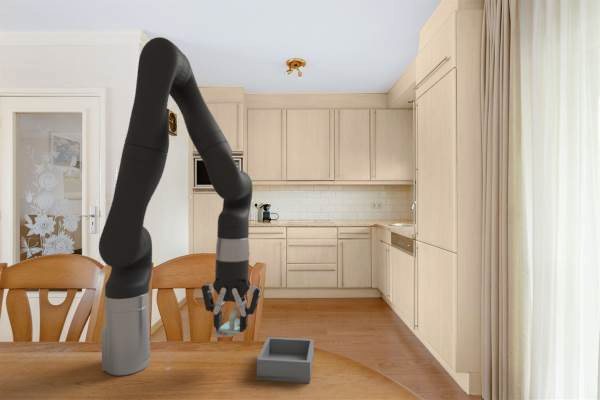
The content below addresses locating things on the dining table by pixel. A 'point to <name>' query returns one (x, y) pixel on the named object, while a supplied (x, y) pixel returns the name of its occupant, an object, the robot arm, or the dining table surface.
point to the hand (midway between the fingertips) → (230, 329)
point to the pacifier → (230, 325)
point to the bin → (286, 360)
